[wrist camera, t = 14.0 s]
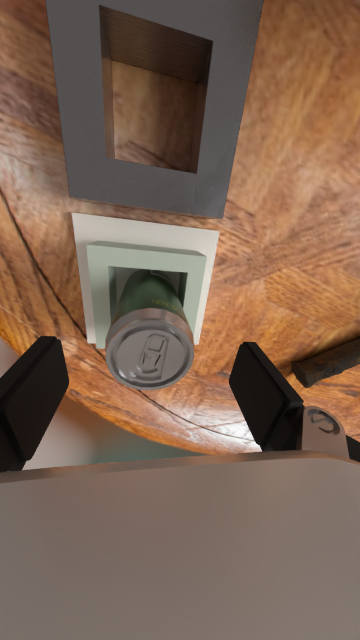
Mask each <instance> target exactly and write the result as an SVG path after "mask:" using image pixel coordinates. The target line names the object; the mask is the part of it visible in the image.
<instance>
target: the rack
mask: <svg viewBox="0 0 360 640" xmlns="http://www.w3.org/2000/svg"><path fill="white" fill-rule="evenodd" d="M72 219H73V227H74V235H75V244H76V252H77V260H78V268H79V276H80V284H81V292H82V300H83V308H84V316H85V324H86V333H87V341H88V343H96V346H97V348H105V339H106V336H107V333H108V330H109V328H110V325H111V322H112V319H113V317H114V314H115V311H116V309H117V306H118V303H119V300H120V298H121V295H122V292H123V289H124V287H125V284H126V282H127V280H128V278H129V277H130V276H131V275H132V274H133V273H134V272H136V271H138V270H140V269H151V270H160V271H161V272H163V273H165V274H166V275H167V276H168V277H169V278H170V280H171V282H172V284H173V286H174V288H175V291H176V293H177V296H178V298H179V301H180V303H181V306H182V308H183V311H184V313H185V316H186V318H187V321H188V323H189V326H190V328H191V331H192V333H193V338H194V345H198V344H199V339H200V333H201V328H202V323H203V317H204V312H205V307H206V301H207V296H208V291H209V285H210V280H211V275H212V269H213V264H214V259H215V253H216V248H217V243H218V238H219V232H220V231H214V230H206V229H198V228H191V227H183V226H175V225H167V224H159V223H151V222H143V221H135V220H128V219H120V218H112V217H104V216H96V215H88V214H80V213H72Z"/></svg>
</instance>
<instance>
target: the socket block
mask: <svg viewBox="0 0 360 640" xmlns="http://www.w3.org/2000/svg"><path fill="white" fill-rule="evenodd" d="M263 2H264V0H46V8H47V16H48V24H49V32H50V40H51V48H52V56H53V65H54V73H55V81H56V89H57V97H58V105H59V113H60V121H61V129H62V137H63V146H64V154H65V162H66V170H67V178H68V186H69V194H70V197H71V198H75V199H78V200H81V201H84V202H89V203H96V204H104V205H111V206H118V207H125V208H133V209H140V210H147V211H154V212H162V213H169V214H176V215H183V216H191V217H198V218H205V219H222V218H223V214H224V208H225V203H226V198H227V192H228V187H229V182H230V177H231V171H232V166H233V161H234V155H235V150H236V145H237V140H238V134H239V129H240V124H241V118H242V113H243V108H244V103H245V97H246V92H247V87H248V81H249V76H250V71H251V65H252V60H253V55H254V50H255V44H256V39H257V34H258V28H259V23H260V18H261V13H262V7H263ZM112 60H114V61H118V62H122V63H125V64H129V65H133V66H137V67H140V68H144V69H148V70H151V71H155V72H159V73H162V74H166V75H170V76H173V77H177V78H181V79H185V80H188V81H192V82H196V83H198V91H197V100H196V109H195V119H194V128H193V137H192V146H191V156H190V165H189V172H183V171H177V170H172V169H166V168H161V167H155V166H150V165H144V164H139V163H133V162H128V161H122V160H117V159H115V154H114V122H113V91H112Z"/></svg>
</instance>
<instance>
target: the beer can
mask: <svg viewBox="0 0 360 640" xmlns="http://www.w3.org/2000/svg"><path fill="white" fill-rule="evenodd" d="M193 349H194V338H193V333H192V331H191V328H190V326H189V323H188V321H187V318H186V316H185V313H184V311H183V308H182V306H181V303H180V301H179V298H178V296H177V293H176V291H175V288H174V286H173V284H172V282H171V280H170V278H169V277H168V276H167V275H166V274H165V273H163V272H161V271H160V270H151V269H140V270H138V271H136V272H134V273H133V274H132V275H131V276H130V277H129V278H128V280H127V282H126V284H125V287H124V289H123V292H122V295H121V298H120V300H119V303H118V306H117V309H116V311H115V314H114V317H113V319H112V322H111V325H110V328H109V330H108V333H107V336H106V339H105V352H106V363H107V366H108V368H109V371H110V373H111V374H112V375H113V376H114V377H115V378H116V379H117V381H119V382H121V383H123V384H124V385H126V386H128V387H131V388H135V389H139V390H156V389H161V388H165V387H168V386H170V385H172V384H174V383H176V382H177V381H179V380H180V379H181V378H182V377H184V376H185V375H186V373H187V372H188V370H189V369H190V367H191V365H192V362H193V358H194V350H193Z"/></svg>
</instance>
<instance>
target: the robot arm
mask: <svg viewBox="0 0 360 640" xmlns="http://www.w3.org/2000/svg"><path fill="white" fill-rule="evenodd" d="M68 385H69V377H68V373H67V368H66V363H65V358H64V353H63V349H62V344H61V341H60V340H59V339H57V338H56V337H55V336H41V337H39V338H38V339H37V340H36V341H35V342H34V344H33V345H32V346H31V347H30V348H29V349H28V350H27V351H26V352H25V353H24V354H23V355H22V356H21V357H20V358H19V359H18V360H17V361H16V362H15V363H14V364H13V365H12V366H11V367H10V369H9V370H8V371H7V372H6V373H5V374H4V375H3V376H2V377H1V378H0V640H360V442H358V441H356V440H354V439H353V438H351V437H349V436H347V435H345V431H344V428H343V426H342V424H341V423H340V422H339V421H338V420H337V419H336V418H335V417H334V416H333V415H332V414H330V413H329V412H328V411H326V410H324V409H322V408H319V407H316V406H307V407H306V408H305V407H304V406H303V402H304V401H303V400H302V398H301V397H300V396H299V395H298V394H297V392H296V391H295V390H294V389H293V388H292V386H291V385H290V384H289V383H288V381H287V380H286V379H285V378H284V377H283V375H282V374H281V373H280V372H279V370H278V369H277V368H276V367H275V366H274V364H273V363H272V362H271V361H270V360H269V358H268V357H267V356H266V355H265V353H264V352H263V351H262V350H261V349H260V347H259V346H258V345H257V344H256V343H255V342H244V343H243V344H241V345H240V347H239V350H238V353H237V356H236V359H235V362H234V365H233V369H232V372H231V375H230V378H229V385H230V387H231V389H232V392H233V394H234V396H235V398H236V400H237V403H238V405H239V407H240V409H241V411H242V414H243V416H244V418H245V420H246V422H247V425H248V427H249V429H250V431H251V433H252V436H253V438H254V440H255V442H256V443H257V444H258V445H260V447H261V449H262V452H251V453H237V454H222V455H208V456H194V457H180V458H166V459H153V460H140V461H127V462H115V463H101V464H89V465H78V466H77V465H76V466H65V467H52V468H42V469H31V470H22V469H23V467H24V465H25V463H26V461H28V460H30V459H31V458H32V457H33V455H34V453H35V451H36V449H37V447H38V445H39V443H40V441H41V439H42V437H43V435H44V434H45V431H46V430H47V427H48V426H49V424H50V422H51V420H52V418H53V416H54V413H55V412H56V410H57V408H58V406H59V404H60V402H61V400H62V398H63V396H64V394H65V392H66V390H67V388H68ZM7 471H10V472H7Z"/></svg>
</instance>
